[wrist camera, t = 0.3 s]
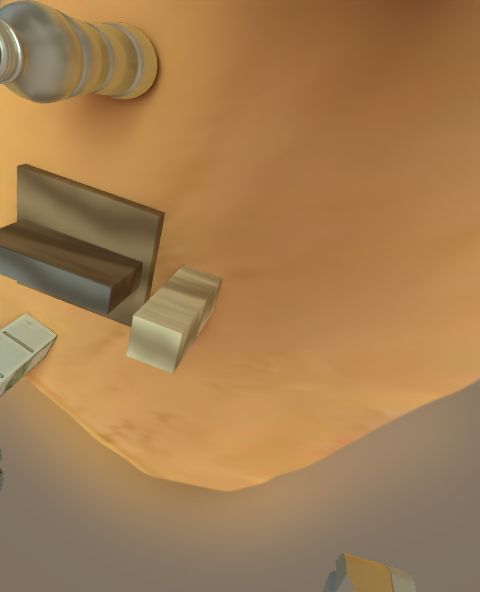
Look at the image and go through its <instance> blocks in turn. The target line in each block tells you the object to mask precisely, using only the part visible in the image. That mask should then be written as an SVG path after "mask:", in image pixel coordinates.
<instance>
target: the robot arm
mask: <svg viewBox="0 0 480 592" xmlns="http://www.w3.org/2000/svg"><path fill="white" fill-rule="evenodd" d="M1 460H2V453H1V449H0V461H1ZM3 479H4V478H3V471H2V470H1V468H0V490H1V488H2V484H3ZM323 592H416V589H415V584H414V580H413V578H412V576H411V574H410V573H408V572H405V571H402V570H398V569H395V568H391V567H387V566H386V565H384V564H380V563H377V562H373V561H370V560H366V559H362V558H359V557H356V556H352V555H349V554H345V553H342V554H340V555H339V557H338V558H337V560H336V571H333V572H331V573H329V575H328V577H327V580H326V582H325V586H324V590H323Z"/></svg>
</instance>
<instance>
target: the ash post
mask: <svg viewBox="0 0 480 592" xmlns="http://www.w3.org/2000/svg"><path fill="white" fill-rule="evenodd" d="M221 281H222V278H219V277H216V276H214V275H211V274H208V273H205V272H203V271H200V270H197V269H194V268H192V267H189V266H186V265H183V266H182V267H181V268H180V269H179V270H178V271H177V272H176V273H175V274H174V275H173V276H172V277H171V278H170V279H169V280H168V281H167V282H166V283H165V284H164V285H163V286H162V287H161V288H160V289H159V290H158V291H157V292H156V293H155V294H154V295H153V296H152V297H151V298H150V299H149V300H148V301H147V302H146V303H145V304H144V305H143V306H142V307H141V308H140V309H139V310H138V311H137V312H136V313H135V314H134V315H133V320H132V326H131V332H130V338H129V344H128V350H127V356H128V357H131V358H133V359H136V360H138V361H141V362H143V363H146V364H148V365H151V366H154V367H156V368H159V369H161V370H164V371H166V372H169V373H171V374H173V373H174V371H175V370H176V368H177V367H178V365H179V364H180V362H181V361H182V359H183V358H184V356H185V355H186V353H187V351H188V350H189V348H190V347H191V345H192V344H193V342H194V341H195V339H196V338H197V336H198V335H199V333H200V332H201V330H202V329H203V327H204V326H205V324H206V323H207V321H208V319H209V318H210V316H211V315H212V313H213V311H214V307H215V303H216V300H217V296H218V292H219V289H220V285H221Z"/></svg>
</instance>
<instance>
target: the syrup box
mask: <svg viewBox="0 0 480 592" xmlns="http://www.w3.org/2000/svg"><path fill="white" fill-rule="evenodd" d="M56 337H57V335H56V334H55V333H54V332H52V331H51V330H50V329H49V328H47V327H46V326H45V325H43V324H42V323H40V322H39V321H38V320H36V319H35V318H33V317H32V316H31V315H29V314H28V313H25V314H23V315H22V316H20V317H19V318H17V319H16V320H15V321H13V322H12V323H10V324H9V325H7V326H6V327H4V328H3V329H2V330H0V397H1V396H2V395H3V394H4V393H5V392H6V391H7V390H8V389H9V388H11V387H12V386H13V385H14V384H15V383H16V382H18V381H19V380H20V379H21V378H22V377H23V376H24V375H26V374H27V373H28V372H29V371H30V370H31V369H32V368H34V367H35V366H36V365H37V364H38V363H39V362H40V361H41V360H43V359H44V358H45V356H46V354H47V353H48V351H49V349H50V347H51V345H52V344H53V342H54V340H55V338H56Z"/></svg>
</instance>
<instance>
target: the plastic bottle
mask: <svg viewBox="0 0 480 592" xmlns="http://www.w3.org/2000/svg"><path fill="white" fill-rule="evenodd" d="M156 74H157V57H156V53H155V50H154V48H153V45H152V44H151V42H150V41H149V39H148V38H147V37H146V36H145V35H144V34H143V33H142V32H140V31H139V30H137V29H136V28H134V27H133V26H131V25H129V24H126V23H122V22H109V23H103V24H95V23H87V22H83V21H81V20H78V19H75V18H72V17H70V16H68V15H66V14H64V13H62V12H60V11H58V10H56V9H54V8H52V7H50V6H47V5H45V4H42V3H39V2H37V1H31V0H23V1H17V2H13V3H10V4H7V5H5V6H3V7H2V8H1V9H0V84H4V85H5V86H6V87H7V88H8V89H10V90H11V91H12V92H13V93H15V94H16V95H18V96H20V97H22V98H25V99H27V100H30V101H32V102H37V103H52V102H57V101H61V100H64V99H67V98H71V97H74V96H77V95H85V94H92V93H93V94H101V95H106V96H109V97H112V98H117V99H122V100H126V99H132V98H135V97H137V96H139V95H141V94H143V93H145V92H146V91H147V90H148V89H149V88H150V87H151V86H152V84H153V82H154V80H155V78H156Z"/></svg>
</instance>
